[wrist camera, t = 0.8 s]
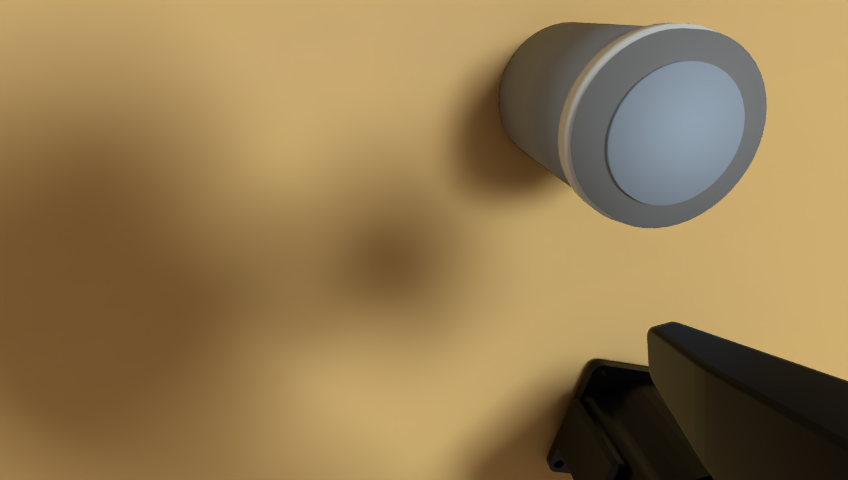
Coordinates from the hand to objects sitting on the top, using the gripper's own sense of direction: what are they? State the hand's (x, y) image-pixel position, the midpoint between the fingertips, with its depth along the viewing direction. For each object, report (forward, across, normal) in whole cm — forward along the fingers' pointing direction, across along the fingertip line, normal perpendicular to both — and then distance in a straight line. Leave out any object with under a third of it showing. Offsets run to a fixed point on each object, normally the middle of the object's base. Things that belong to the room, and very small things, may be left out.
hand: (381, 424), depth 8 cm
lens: (+13, -8, -2) cm, 15 cm away
